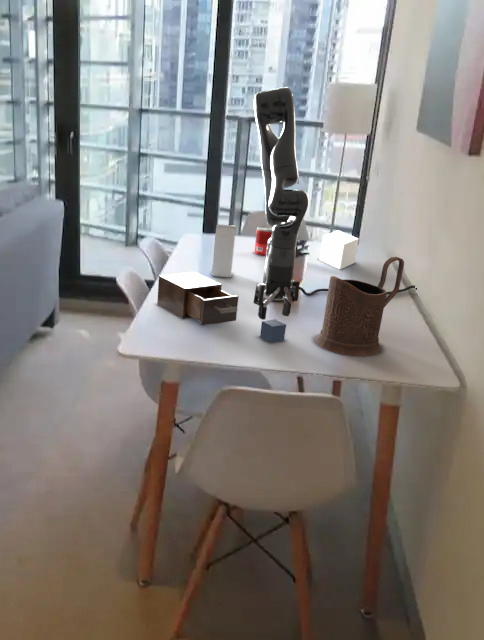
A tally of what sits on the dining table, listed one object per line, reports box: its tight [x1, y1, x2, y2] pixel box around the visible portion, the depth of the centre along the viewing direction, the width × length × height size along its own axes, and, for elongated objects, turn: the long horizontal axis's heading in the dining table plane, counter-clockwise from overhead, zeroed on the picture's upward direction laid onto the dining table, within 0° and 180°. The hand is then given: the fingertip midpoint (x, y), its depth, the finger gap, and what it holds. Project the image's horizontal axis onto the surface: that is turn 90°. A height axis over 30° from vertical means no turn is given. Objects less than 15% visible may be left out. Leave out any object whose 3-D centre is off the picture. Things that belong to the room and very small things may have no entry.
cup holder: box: [315, 256, 405, 357], centre depth 205 cm, size 18×24×25 cm
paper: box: [319, 229, 360, 270], centre depth 301 cm, size 14×29×10 cm, turn 170°
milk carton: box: [211, 223, 237, 278], centre depth 271 cm, size 7×7×19 cm
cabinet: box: [156, 271, 223, 320], centre depth 231 cm, size 16×14×10 cm
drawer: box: [185, 288, 240, 327], centre depth 221 cm, size 19×13×8 cm, turn 28°
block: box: [259, 319, 287, 344], centre depth 209 cm, size 5×5×5 cm
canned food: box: [254, 225, 273, 257], centre depth 307 cm, size 8×8×11 cm
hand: (273, 317), depth 207 cm, fingers open, 8 cm apart
